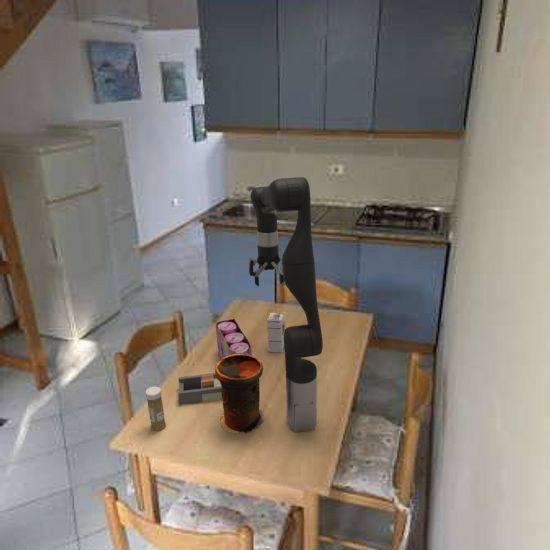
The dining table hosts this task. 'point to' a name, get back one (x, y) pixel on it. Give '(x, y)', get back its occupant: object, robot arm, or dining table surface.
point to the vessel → (240, 392)
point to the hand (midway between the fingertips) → (269, 284)
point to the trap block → (207, 381)
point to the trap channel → (198, 390)
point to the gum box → (231, 339)
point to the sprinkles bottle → (155, 408)
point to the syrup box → (276, 332)
